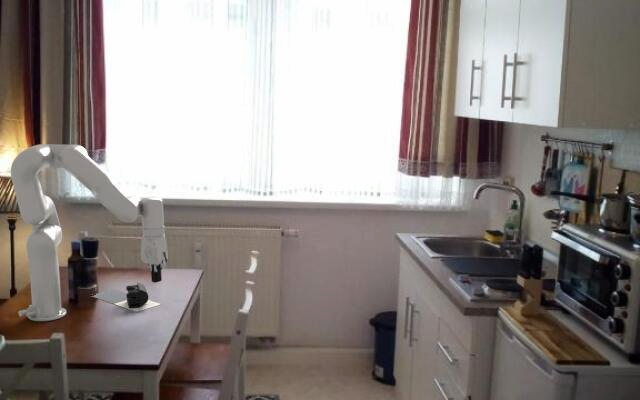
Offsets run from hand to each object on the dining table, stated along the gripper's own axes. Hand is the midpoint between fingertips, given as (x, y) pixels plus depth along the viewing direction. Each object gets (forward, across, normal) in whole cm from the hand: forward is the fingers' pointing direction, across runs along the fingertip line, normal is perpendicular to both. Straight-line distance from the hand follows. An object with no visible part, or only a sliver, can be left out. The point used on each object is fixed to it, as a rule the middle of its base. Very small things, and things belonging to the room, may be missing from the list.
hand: (156, 281), depth 241 cm
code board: (+11, -12, -1) cm, 16 cm away
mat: (+10, -26, -1) cm, 29 cm away
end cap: (+11, -12, -1) cm, 16 cm away
